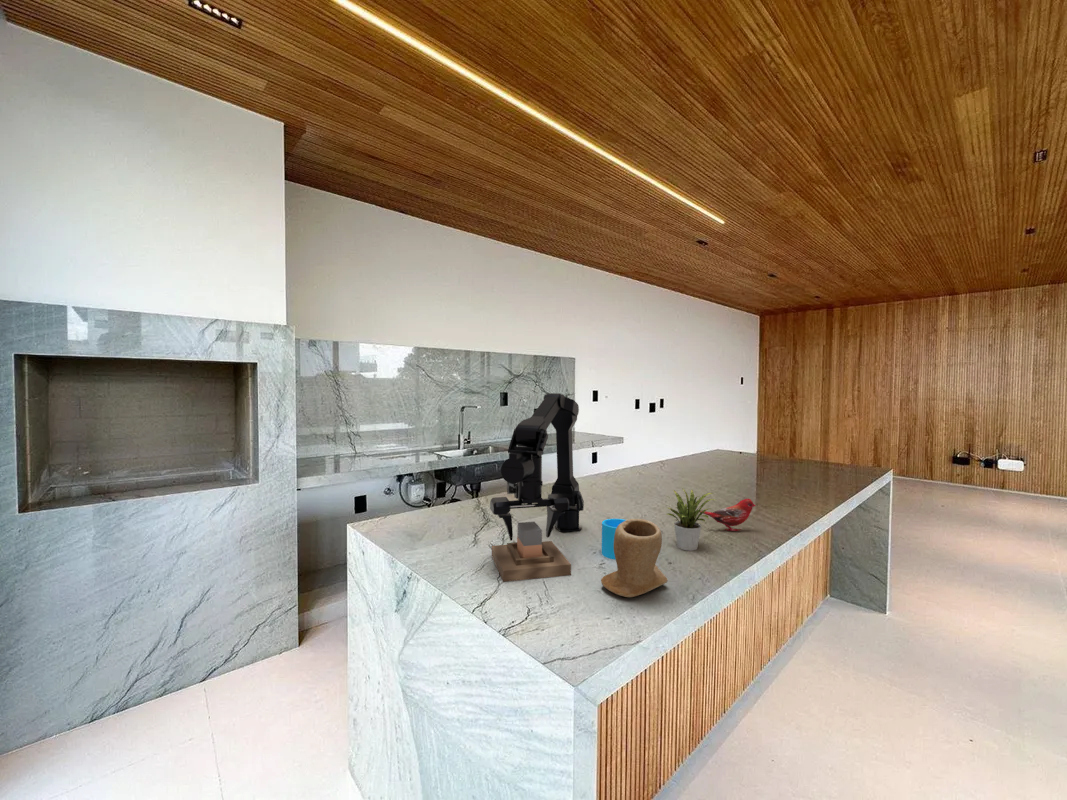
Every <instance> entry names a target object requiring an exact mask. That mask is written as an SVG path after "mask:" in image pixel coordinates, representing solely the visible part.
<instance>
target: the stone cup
mask: <svg viewBox="0 0 1067 800" xmlns="http://www.w3.org/2000/svg"><path fill="white" fill-rule="evenodd" d="M625 520H626V521H624V522H622V523H621V524H619V525H618V527H617V528H616V531H615V536H614V555H615V559H616V560H615V563H616V567H617V570H615V571H612V572H610V573H608V574H605V575H604V576H602V577H601V578H600V582H601V585H602V586H603V587H604V588H605V589H607V591H609V592H611V593H612V594H615V595H617V596H621V597H625V598H633V597H638V596H640V595H644V594H646V593H649V592H650V591H652V590H655V589H656V588H658V587H661V586H663V585H665V584H667V583H668V582H669V580H668V578H667V576H666V574H664V572H662V570H661V569H659V567H658V566H657V565H656V564H657V560H658V558H659V555H660V553H661V550H662V544H663V538H662V531H661V528H660V527H659V526H658V525H657V524H656V523H654V522H652V521H651V520H648V519H643V518H628V519H625Z"/></svg>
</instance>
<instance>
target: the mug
mask: <svg viewBox="0 0 1067 800" xmlns="http://www.w3.org/2000/svg"><path fill="white" fill-rule="evenodd" d="M626 520H627V519H623V518H607V519H604V520H603V521H602V522H601V555H602V556H603V557H604V558H607V559H610V560H615V561H616V559H615V555H614V536H615V531H616V528H617V527H618V525H619V524H621V523H622V522H624V521H626Z"/></svg>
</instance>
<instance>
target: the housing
mask: <svg viewBox="0 0 1067 800" xmlns="http://www.w3.org/2000/svg"><path fill="white" fill-rule="evenodd" d="M516 542H517V551H518V552H519V554H520V556H521V557H522V558H530V557H541V556H542V542H543V530H542V528H541V527H540V526H539V524H538V523H536V521H523V522H517V537H516Z"/></svg>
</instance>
